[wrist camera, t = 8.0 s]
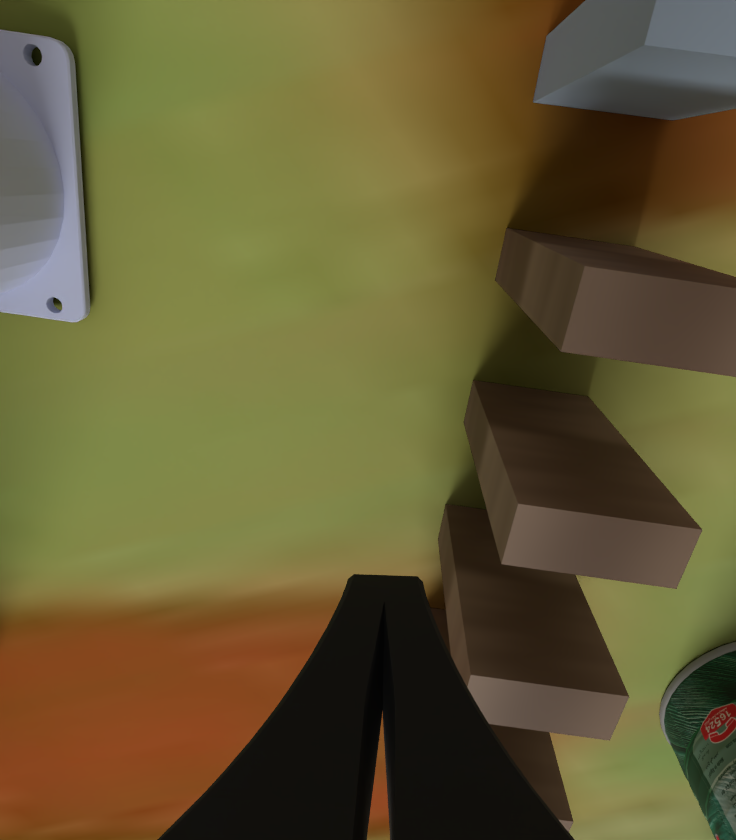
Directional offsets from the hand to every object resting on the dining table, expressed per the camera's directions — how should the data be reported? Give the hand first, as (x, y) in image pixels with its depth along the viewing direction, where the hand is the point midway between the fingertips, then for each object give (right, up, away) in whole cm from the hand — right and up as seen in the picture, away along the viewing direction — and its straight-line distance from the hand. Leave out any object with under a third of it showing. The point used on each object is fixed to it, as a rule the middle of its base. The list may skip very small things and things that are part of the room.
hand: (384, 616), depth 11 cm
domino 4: (+6, +9, +7) cm, 12 cm away
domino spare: (+6, +13, +5) cm, 16 cm away
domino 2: (+5, 0, +11) cm, 12 cm away
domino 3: (+5, +4, +9) cm, 11 cm away
